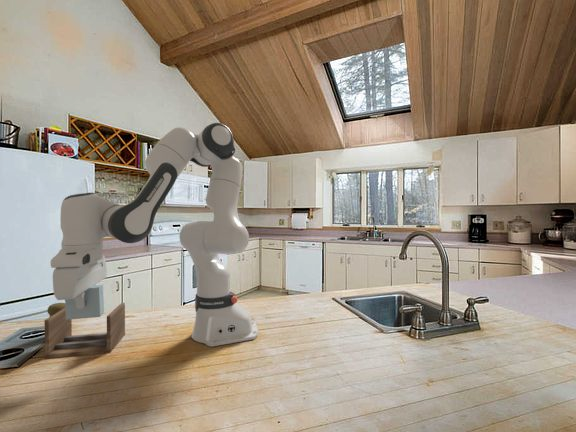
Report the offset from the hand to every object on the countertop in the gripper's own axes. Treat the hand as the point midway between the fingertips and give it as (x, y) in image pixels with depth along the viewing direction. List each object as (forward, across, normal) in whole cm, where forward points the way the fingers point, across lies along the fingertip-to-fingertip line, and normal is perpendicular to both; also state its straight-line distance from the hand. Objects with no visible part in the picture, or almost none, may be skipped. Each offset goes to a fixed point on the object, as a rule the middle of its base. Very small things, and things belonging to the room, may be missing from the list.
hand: (85, 304), depth 75 cm
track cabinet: (+17, -14, -6) cm, 23 cm away
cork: (+18, -23, -18) cm, 34 cm away
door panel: (+3, 0, 0) cm, 3 cm away
